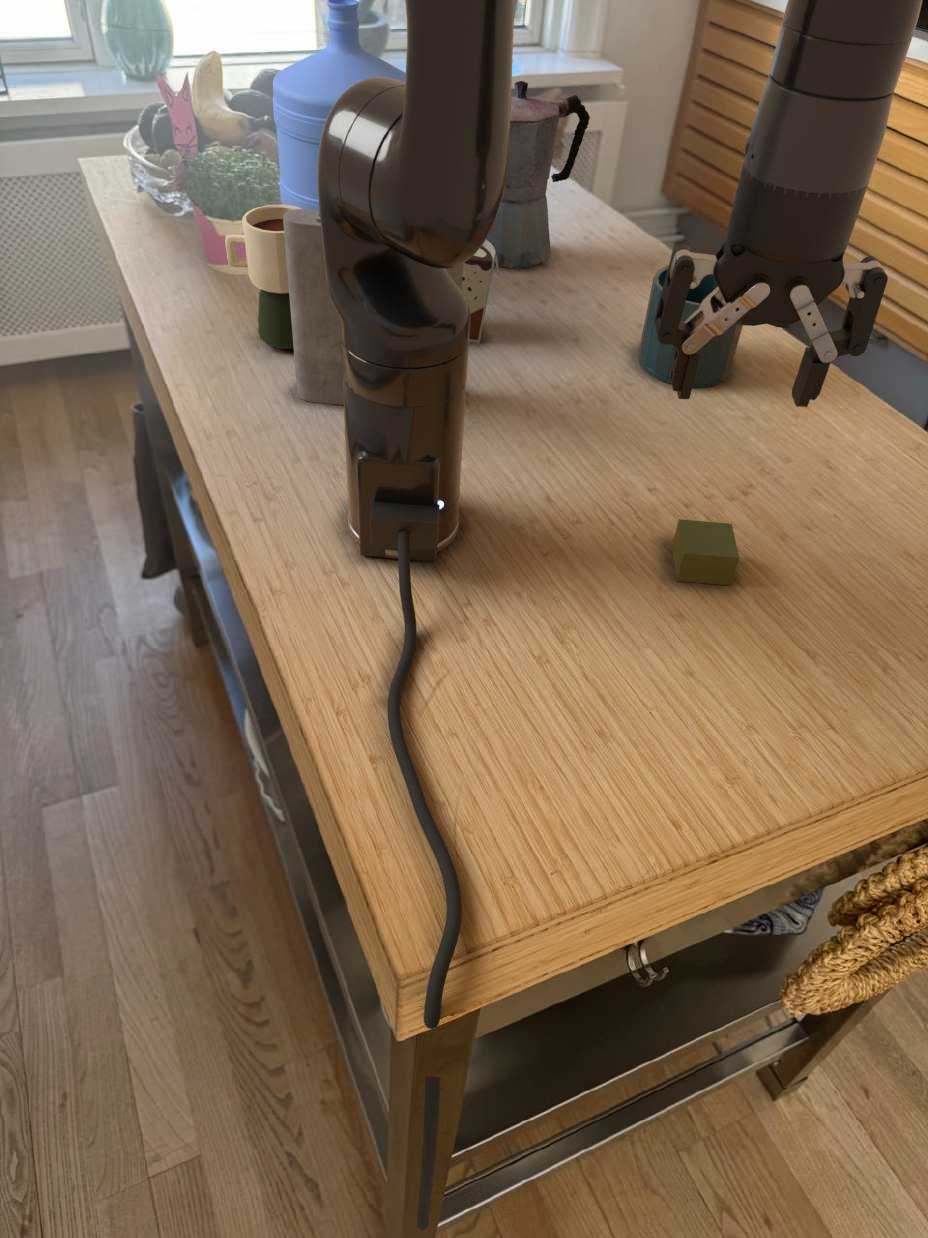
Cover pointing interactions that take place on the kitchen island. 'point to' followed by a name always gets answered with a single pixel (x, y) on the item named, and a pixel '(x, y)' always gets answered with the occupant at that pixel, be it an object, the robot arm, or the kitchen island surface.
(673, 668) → the kitchen island surface
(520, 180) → the moka pot
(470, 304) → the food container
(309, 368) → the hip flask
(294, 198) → the water jug
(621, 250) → the kitchen island surface
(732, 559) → the olive green cube
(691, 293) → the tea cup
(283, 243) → the character mug
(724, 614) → the kitchen island surface
